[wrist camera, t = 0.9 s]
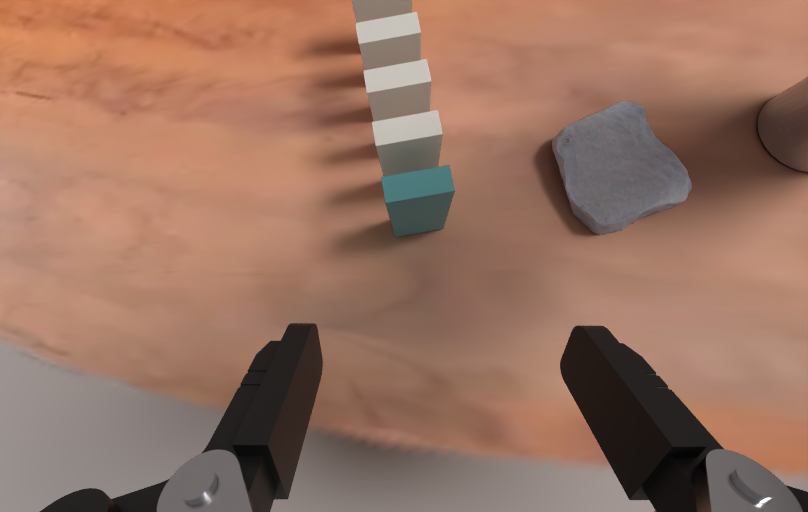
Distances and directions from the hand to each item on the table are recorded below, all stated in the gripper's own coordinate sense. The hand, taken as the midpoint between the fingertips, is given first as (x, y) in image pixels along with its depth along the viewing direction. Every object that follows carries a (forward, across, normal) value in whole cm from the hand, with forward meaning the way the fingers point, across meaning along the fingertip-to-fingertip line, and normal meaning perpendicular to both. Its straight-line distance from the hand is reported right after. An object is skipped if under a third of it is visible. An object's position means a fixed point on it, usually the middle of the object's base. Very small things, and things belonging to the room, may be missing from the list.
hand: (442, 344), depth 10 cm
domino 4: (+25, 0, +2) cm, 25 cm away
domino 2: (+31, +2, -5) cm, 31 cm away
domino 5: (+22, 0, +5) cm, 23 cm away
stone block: (+25, -19, +1) cm, 31 cm away
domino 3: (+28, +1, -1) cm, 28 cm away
